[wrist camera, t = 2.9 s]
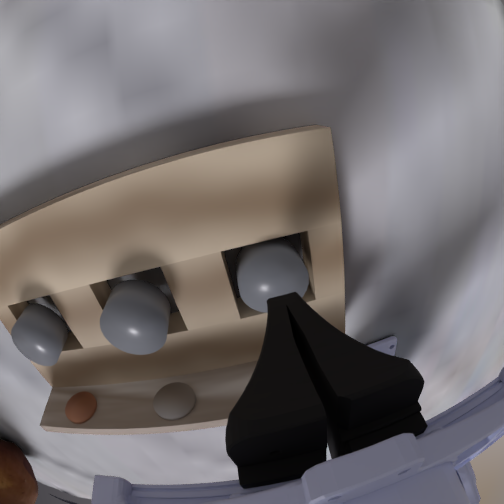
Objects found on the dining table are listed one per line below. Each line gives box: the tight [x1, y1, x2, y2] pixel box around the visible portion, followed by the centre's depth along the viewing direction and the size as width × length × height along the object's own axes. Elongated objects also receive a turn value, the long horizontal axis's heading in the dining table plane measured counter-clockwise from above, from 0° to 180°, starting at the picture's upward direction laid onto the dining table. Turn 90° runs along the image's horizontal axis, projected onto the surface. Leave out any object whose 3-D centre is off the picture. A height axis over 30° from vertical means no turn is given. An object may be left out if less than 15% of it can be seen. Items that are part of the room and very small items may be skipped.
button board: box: [0, 125, 345, 435], centre depth 14 cm, size 14×23×6 cm, turn 102°
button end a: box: [236, 237, 309, 313], centre depth 16 cm, size 4×4×2 cm
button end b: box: [11, 304, 68, 366], centre depth 14 cm, size 4×4×2 cm
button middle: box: [100, 279, 171, 355], centre depth 15 cm, size 4×4×2 cm
